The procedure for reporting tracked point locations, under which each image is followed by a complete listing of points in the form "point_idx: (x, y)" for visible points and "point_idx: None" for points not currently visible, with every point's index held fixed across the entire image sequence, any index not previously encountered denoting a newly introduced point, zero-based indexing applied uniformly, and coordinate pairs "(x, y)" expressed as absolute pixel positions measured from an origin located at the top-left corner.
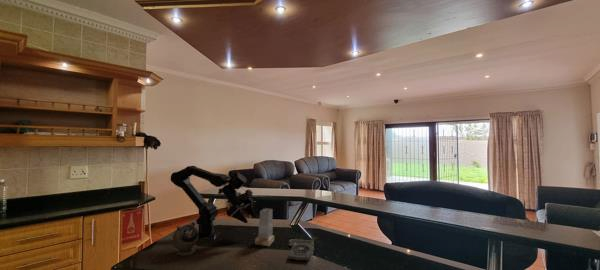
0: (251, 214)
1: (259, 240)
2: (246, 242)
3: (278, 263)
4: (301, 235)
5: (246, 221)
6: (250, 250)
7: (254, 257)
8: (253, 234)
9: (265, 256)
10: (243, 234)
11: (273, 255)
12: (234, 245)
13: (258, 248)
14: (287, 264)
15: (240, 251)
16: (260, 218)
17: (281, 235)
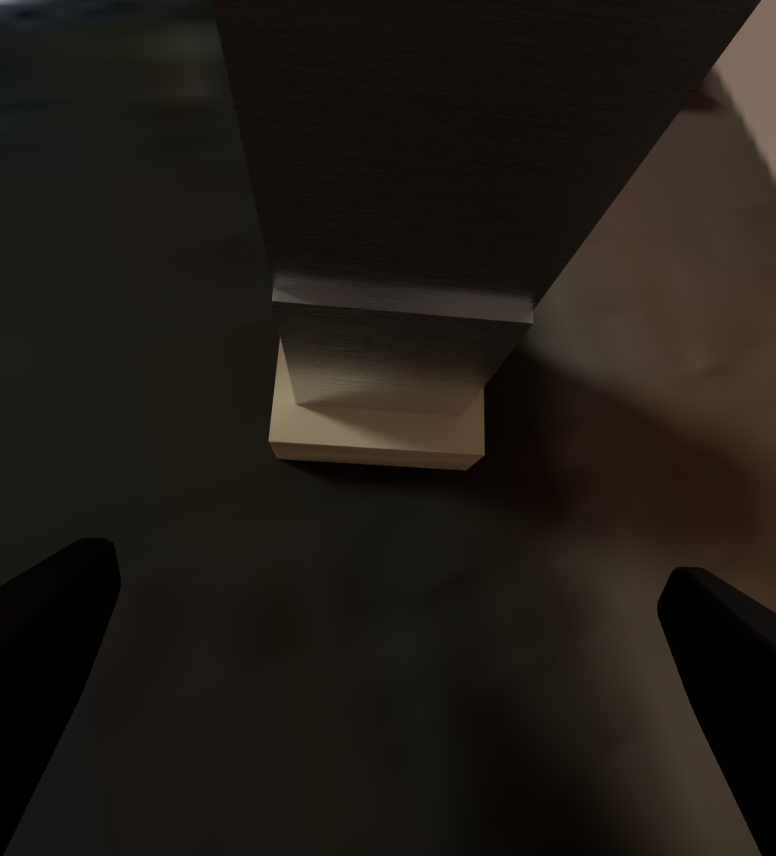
0: (34, 731)
1: (479, 397)
2: (443, 604)
3: (749, 158)
4: (75, 47)
5: (729, 597)
6: (633, 461)
7: (750, 366)
8: (124, 629)
9: (688, 278)
10: (149, 805)
11: (641, 219)
12: (585, 727)
13: (555, 394)
14: (732, 99)
15: (700, 562)
16: (600, 192)
17: (107, 243)
